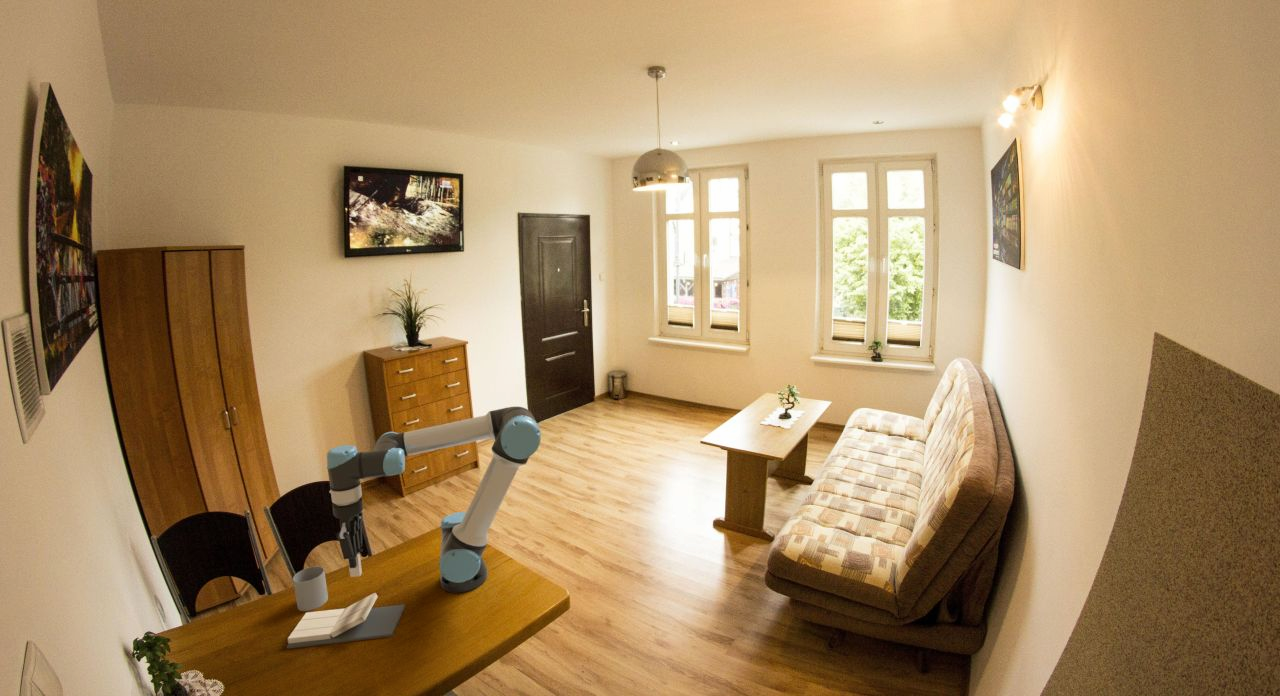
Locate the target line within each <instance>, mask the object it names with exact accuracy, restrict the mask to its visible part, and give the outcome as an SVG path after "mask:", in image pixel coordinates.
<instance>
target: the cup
mask: <svg viewBox="0 0 1280 696" xmlns="http://www.w3.org/2000/svg"><path fill="white" fill-rule="evenodd" d="M292 580H293V587H294V594H295V599H296V606H297V610H298V611H301V612H311V611H313V610H317V609H318V608H320V607H322V606H323V605H324V604H326V602H328V600H329V594H328V587H327V581H326V573H325V569H324V567H323V566H320V565H316V566H314V565H313V566H310V567H306V568H304V569H302V570H300V571H298V572H297V573H296V574H294V576H293V577H292Z"/></svg>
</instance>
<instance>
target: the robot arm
mask: <svg viewBox="0 0 1280 696" xmlns="http://www.w3.org/2000/svg"><path fill="white" fill-rule="evenodd" d="M541 434H542V433H541V429H540V426H539V424H538V423H537V421H536V417H535V416H534V414H533V413H532V412H531V410H529V409H527V408H525V407H522V406H510V407H503V408H499V409H494V410H490V411H488V412H487V413H486V414H485V415H482V416H481V415H480V416H477V417H471V418H467V419H462V420H457V421H456V420H455V421H451V422H448V423H443V424H438V425H434V426H430V427H429V426H428V427H423V428H421V429H420V428H419V429H415V430H410V431H409V430H408V431H406V432H405V431H404V432H400V433H398V432H396V431H388V432H385V433H383V434H381V436H380V437H379V438H378V439H377V440H376V443H375V445H374V448H373V450H371V451H363V452H361V451H359V452H358V450H357V447H356V446H355V445H352V444H351V445H348V444H344V445H340V446H339V445H338V446H335V447H334V448H333V447H332V448H331V449H330V450H328V452H327V454H326V464H327V465H326V469H327V473H328V481H329V488H330V490H329V491H328V492H329V494H330V495H331V502H332V505H331V506H332V513H333V514H332V515H333V516H334V518H336V519H339V528H340V531H339V532H337V533H336V539H338V542H339V546H340V549H341V554H342V557H343V559H344V560H347V561H348V569H349V570H348V571H349V578H353V577H354V578H355V577H361V575H362V574H363V569H362V561H361V554H360V553H362V552H364V548H361V547H363V511H364V503H363V498H362V496H363V493H362V484H361V480H365V479H372V478H381V477H391V476H396V475H401V474H403V473H404V472H405V469H406V457H409V456H414V455H418V454H423V453H427V452H432V451H437V450H442V449H446V448H451V447H455V446H461V445H464V444H469V443H473V442H478V441H482V440H483V441H484V440H487V439H491V440H493V441H494V442H493V444H492V447H491V452H492V454H493V456H492V458H491V460H490V462H489V465H488V466H487V469H486V471H485V473H484V474H483V477H482V479H481V481H480V482H479V484H478V487H477V489H476V491H475V493H474V495H473V497H472V500H471V502H470V503H469V506H468V507H467V510H466V511H458V512H453V513H451V514H448V515H446V516H445V517H443V518H442V519H441V521H440V530H441V545H440V553H439V554H440V556H439V560H438V566H439V571H440V577H439V578H440V586H441V588H442V589H443V590H444V591H446V592H448V593H454V594H455V593H456V594H457V593H465V592H469V591H472V590H474V589H476V588H478V587H480V586H481V585H482V584H483V583H485V581H486V580H487V578H488V575H489V573H488V567H487V564H486V562H485V560H484V559H483V554H484V553H485V549H486V548H487V545H488V543H489V537H488V532H489V530H490V528H491V526H492V523H493V522H494V520H495V518H496V516H497V514H498V512H499V509H500V508H501V506H502V503H503V501H504V499H505V497H506V495H507V493H508V491H509V489H510V487H511V485H512V482H513V480H514V478H515V476H516V475H517V472H518V470H519V467H522V466H524V465H527V463H528V461H529V459H530V457H531V456H533V455H534V454H535V453H536V452H537V450H538V449H539V447H540V445H541V439H542V435H541Z"/></svg>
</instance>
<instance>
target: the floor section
mask: <svg viewBox="0 0 1280 696" xmlns="http://www.w3.org/2000/svg"><path fill="white" fill-rule="evenodd" d="M345 608H346V607H345ZM345 608H337V609H336V608H335V609H327V610H319V611H306V612H305V614H304V615H303V616H302V618H301V619H300V621H299V622H298V623H297V625H296V626H295V628H294V629H293V630H292V632H291V633H290V635H289V636H288V637H287V643H288V644H287V645H286V649H288V650H289V649H294V648H295V649H296V648H303V647H304V648H305V647H306V648H307V647H313V646H322V645H328V644H329V645H330V644H338V643H346V642H355V641H362V640H371V639H380V638H388V637H389V638H391V637H393V636H394V633H395V631H396V628H397V626H398V625H399V621H400V619H401V617H402V614H403V612H404V610H405V608H406V605H405V604H397V605H387V606H378V607H372V608H371V610H370V612H369V614H368V616H367V618H366V620H365V621H364V622H362V623H360V624H358V625H356V626H354V627H352V628H350V629H348V630H347V631H345V632H343V633H341V634H339V635H337V636H335V637H332V636H331V635H330V633H331V631H332V629H333V628H334V626H335V624H336V623H337V621H338V619H339V618H340V616H341V614H342V613H343V611H344V609H345Z"/></svg>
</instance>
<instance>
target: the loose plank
mask: <svg viewBox="0 0 1280 696" xmlns="http://www.w3.org/2000/svg"><path fill="white" fill-rule="evenodd" d="M378 597H379V596H378V595H377V593H376V592H374V593H372V594H370V595H368V596H366V597H364V598H361V600H358V601H355V603H352V604H351V605H349V606H347V607H345V609H344V608H343V609H344V611H343V613H342V614H341V616H340V618H339V619H338V621H337V623H336V624H335V626H334V628H333V629H332V631H331V633H330V635H331V636H332V637H335V636H337V635H339V634H341V633H343V632H345V631H347V630H348V629H350V628H352V627H354V626H356V625H358V624H360V623H362V622H364V621H365V620H366V618H367V616H368V614H369V612H370V610H371V608H374V607H373V606H374V604H375V603H376V601H377V599H378Z"/></svg>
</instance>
